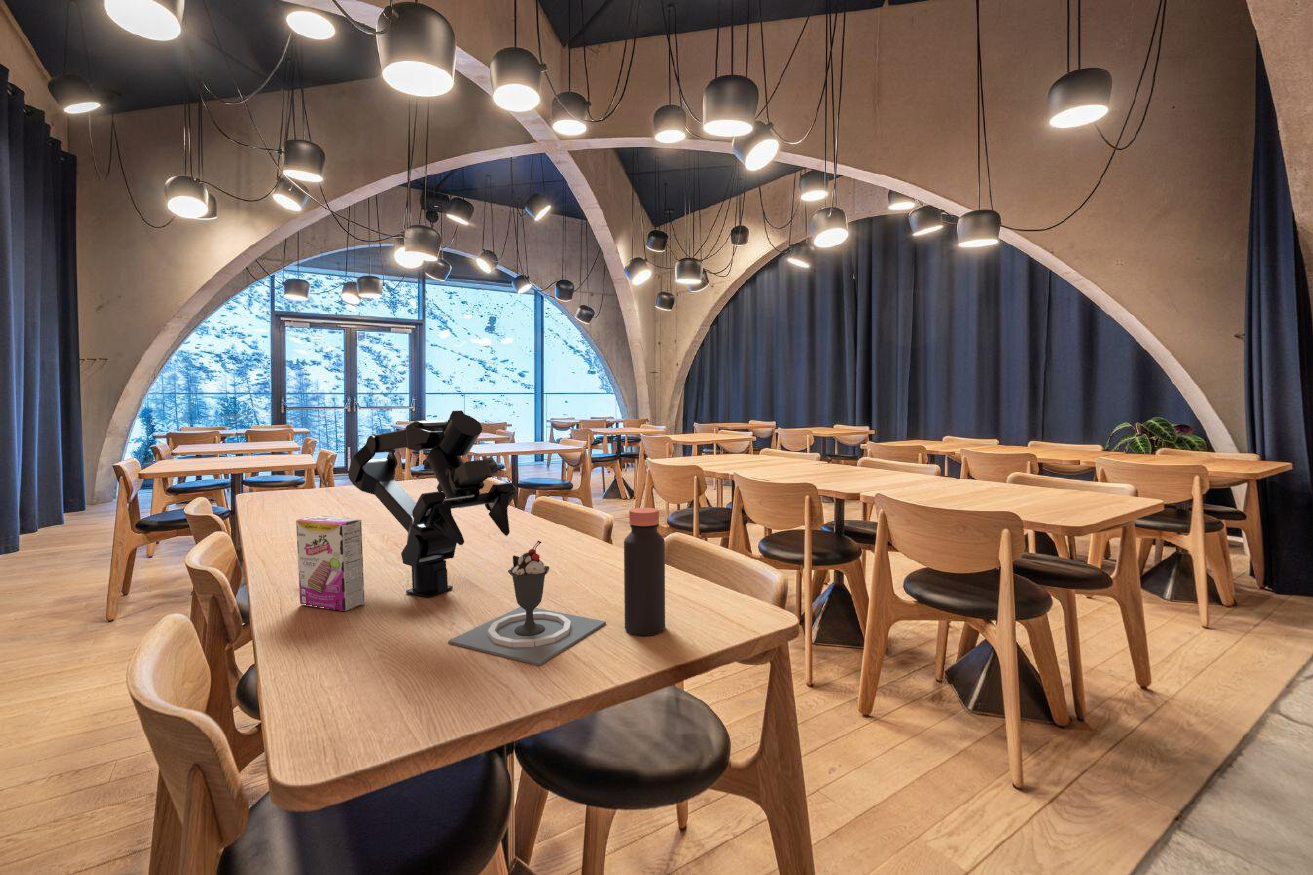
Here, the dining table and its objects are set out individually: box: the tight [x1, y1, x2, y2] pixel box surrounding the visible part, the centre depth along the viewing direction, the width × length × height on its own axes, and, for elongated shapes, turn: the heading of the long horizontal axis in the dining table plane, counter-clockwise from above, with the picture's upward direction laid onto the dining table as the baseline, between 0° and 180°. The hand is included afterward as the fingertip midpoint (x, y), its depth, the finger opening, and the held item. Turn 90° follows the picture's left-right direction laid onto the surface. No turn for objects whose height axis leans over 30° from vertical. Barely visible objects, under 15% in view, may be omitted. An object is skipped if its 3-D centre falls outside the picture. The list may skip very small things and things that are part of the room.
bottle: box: [623, 507, 666, 637], centre depth 99 cm, size 7×7×20 cm
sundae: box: [507, 540, 550, 636], centre depth 98 cm, size 7×7×15 cm
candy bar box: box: [295, 515, 365, 612], centre depth 112 cm, size 11×5×16 cm, turn 71°
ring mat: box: [447, 606, 607, 666], centre depth 98 cm, size 18×18×1 cm
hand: (485, 538), depth 107 cm, fingers open, 9 cm apart
